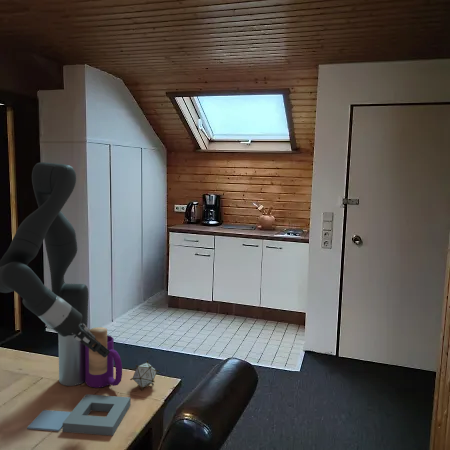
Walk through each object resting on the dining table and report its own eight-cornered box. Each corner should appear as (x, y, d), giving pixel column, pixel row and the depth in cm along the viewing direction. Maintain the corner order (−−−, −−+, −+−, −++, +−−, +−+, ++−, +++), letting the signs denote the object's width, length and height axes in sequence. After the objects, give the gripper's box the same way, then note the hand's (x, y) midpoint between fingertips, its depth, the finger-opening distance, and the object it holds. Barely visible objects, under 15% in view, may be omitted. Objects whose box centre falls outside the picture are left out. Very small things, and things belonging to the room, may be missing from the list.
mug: (102, 373, 155) (102, 332, 154) (131, 387, 146) (132, 343, 144) (79, 382, 148) (79, 339, 146) (109, 397, 139) (109, 352, 137)
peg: (93, 366, 129) (92, 326, 127) (109, 367, 128) (109, 327, 127) (86, 374, 124) (86, 332, 122) (103, 375, 123) (103, 334, 122)
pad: (43, 411, 130) (43, 409, 130) (73, 413, 129) (73, 412, 129) (27, 428, 121) (27, 427, 121) (59, 431, 120) (59, 429, 120)
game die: (144, 394, 149) (150, 364, 154) (160, 393, 144) (166, 362, 149) (122, 388, 144) (129, 357, 149) (138, 387, 139) (145, 355, 144)
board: (86, 401, 136) (86, 394, 136) (130, 405, 135) (130, 397, 134) (62, 431, 120) (62, 423, 120) (112, 435, 119) (112, 426, 119)
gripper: (75, 312, 114) (121, 349, 121) (65, 298, 126) (107, 332, 133) (54, 335, 112) (102, 371, 119) (45, 318, 124) (89, 352, 131)
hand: (104, 350), depth 126 cm, fingers closed on peg, 5 cm apart
